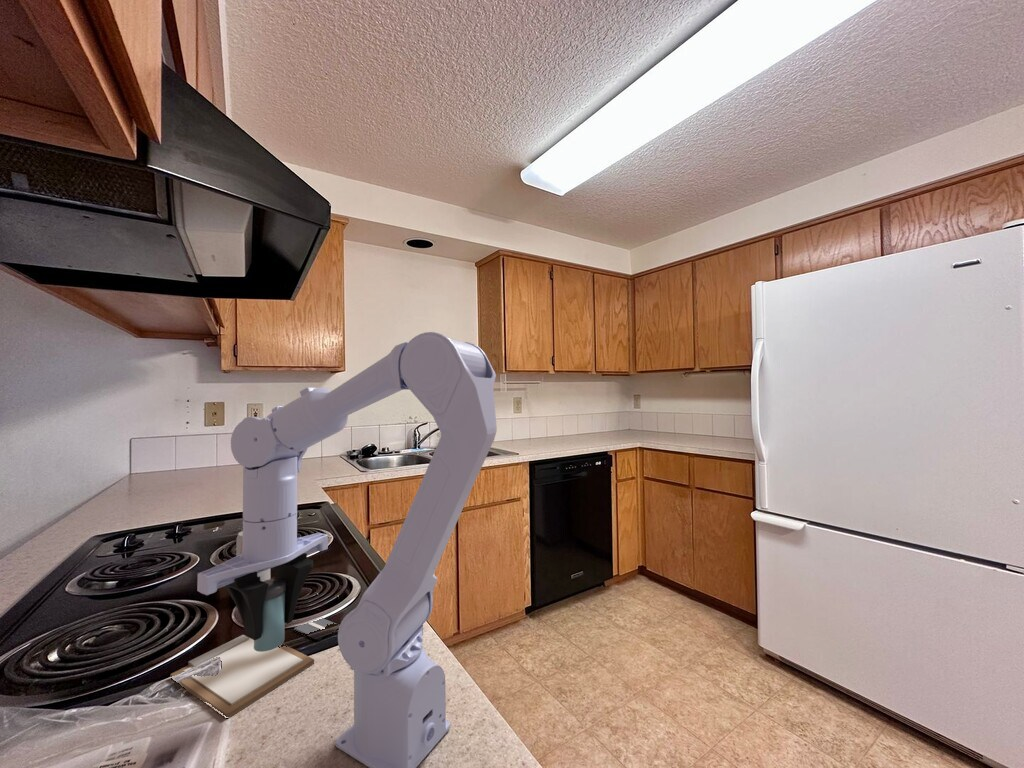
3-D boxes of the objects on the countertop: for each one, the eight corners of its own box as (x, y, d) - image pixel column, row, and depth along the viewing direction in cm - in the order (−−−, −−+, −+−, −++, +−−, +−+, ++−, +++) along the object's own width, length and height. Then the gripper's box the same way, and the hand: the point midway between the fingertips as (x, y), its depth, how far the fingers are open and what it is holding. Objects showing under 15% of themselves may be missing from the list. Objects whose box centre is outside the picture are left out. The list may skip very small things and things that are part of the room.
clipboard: (314, 663, 56) (314, 655, 56) (226, 719, 47) (226, 709, 47) (256, 635, 63) (256, 627, 63) (170, 678, 54) (170, 670, 54)
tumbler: (291, 639, 50) (291, 582, 50) (263, 655, 47) (263, 594, 47) (274, 631, 52) (275, 576, 52) (246, 646, 49) (247, 587, 49)
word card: (341, 628, 65) (341, 625, 65) (318, 641, 61) (318, 638, 61) (317, 618, 68) (317, 615, 68) (294, 630, 64) (294, 627, 64)
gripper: (305, 497, 58) (304, 594, 58) (184, 527, 45) (182, 651, 45) (338, 504, 54) (337, 606, 54) (217, 538, 42) (215, 672, 41)
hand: (269, 628), depth 49 cm, fingers closed on tumbler, 3 cm apart
